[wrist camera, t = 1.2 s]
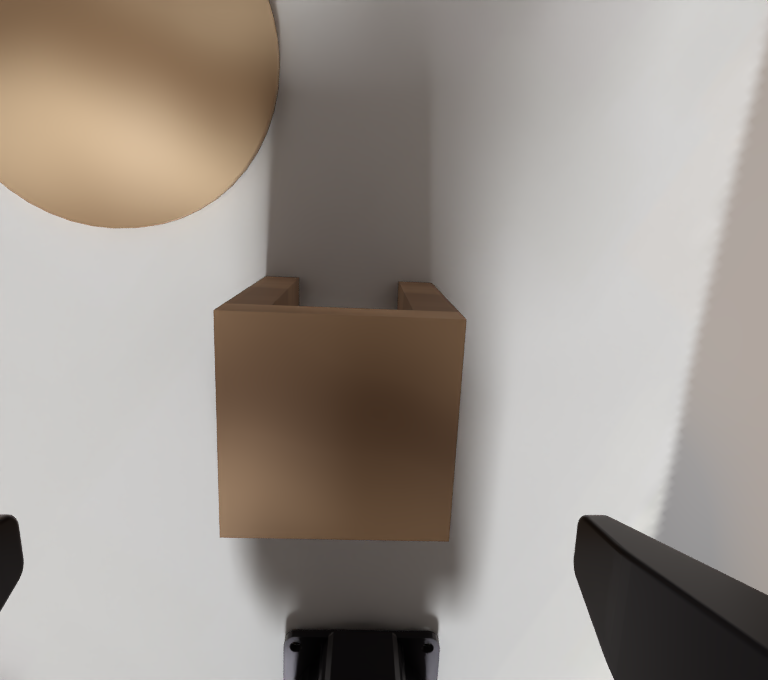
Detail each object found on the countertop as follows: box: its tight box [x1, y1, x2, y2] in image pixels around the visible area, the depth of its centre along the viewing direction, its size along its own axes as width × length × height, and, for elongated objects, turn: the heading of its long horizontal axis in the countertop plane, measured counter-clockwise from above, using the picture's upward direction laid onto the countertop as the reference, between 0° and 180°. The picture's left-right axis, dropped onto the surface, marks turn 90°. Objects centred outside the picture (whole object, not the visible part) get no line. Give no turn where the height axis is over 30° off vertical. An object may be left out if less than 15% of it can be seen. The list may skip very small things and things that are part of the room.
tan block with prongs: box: [214, 276, 466, 541], centre depth 17 cm, size 6×6×7 cm
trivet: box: [0, 0, 280, 228], centre depth 18 cm, size 11×11×1 cm
